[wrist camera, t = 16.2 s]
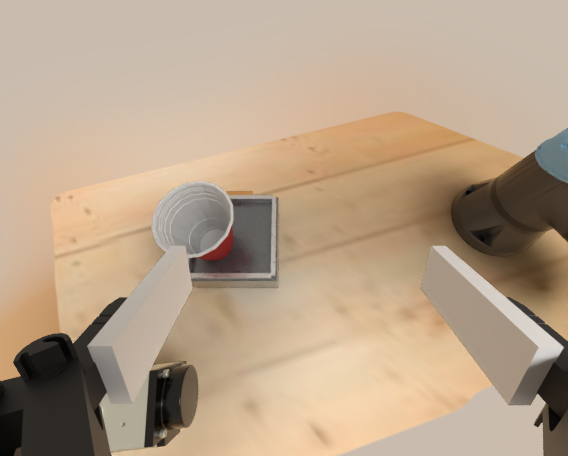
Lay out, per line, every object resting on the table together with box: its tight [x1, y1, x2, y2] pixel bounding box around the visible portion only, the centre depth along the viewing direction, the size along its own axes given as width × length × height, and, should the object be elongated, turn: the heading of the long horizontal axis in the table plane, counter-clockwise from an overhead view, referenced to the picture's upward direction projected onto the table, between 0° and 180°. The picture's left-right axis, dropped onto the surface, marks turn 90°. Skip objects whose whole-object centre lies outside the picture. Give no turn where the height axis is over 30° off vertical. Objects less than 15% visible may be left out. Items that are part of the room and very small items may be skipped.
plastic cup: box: [152, 181, 233, 261], centre depth 40 cm, size 11×11×12 cm
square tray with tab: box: [187, 191, 279, 288], centre depth 49 cm, size 15×17×8 cm
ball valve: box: [99, 361, 198, 453], centre depth 35 cm, size 18×8×18 cm, turn 96°
